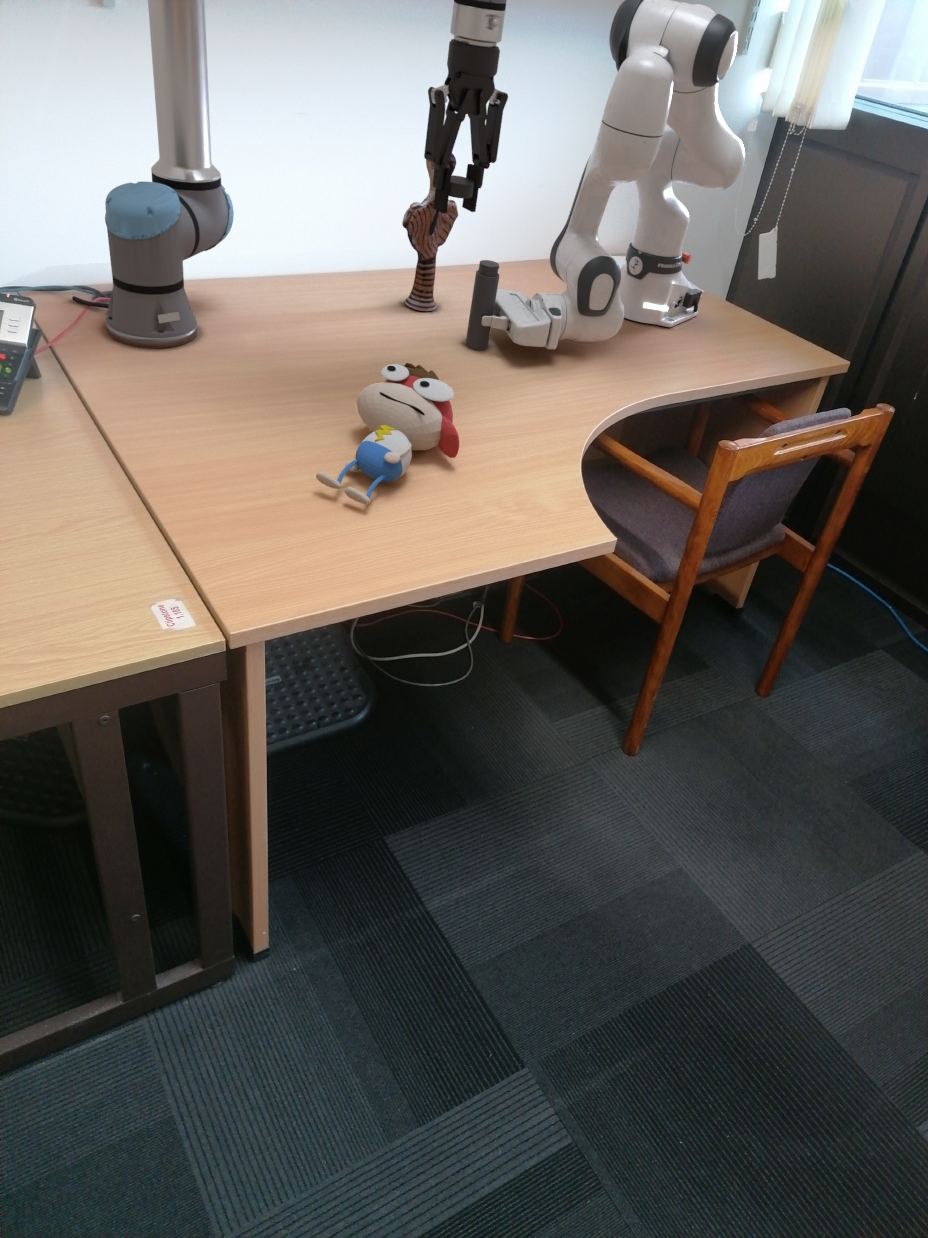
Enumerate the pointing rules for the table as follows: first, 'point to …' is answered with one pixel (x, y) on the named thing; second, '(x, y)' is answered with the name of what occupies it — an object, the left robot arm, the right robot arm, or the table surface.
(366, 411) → the toy
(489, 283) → the dark grey bottle
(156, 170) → the left robot arm
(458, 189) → the lid
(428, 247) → the figurine
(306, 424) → the table surface
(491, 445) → the table surface
